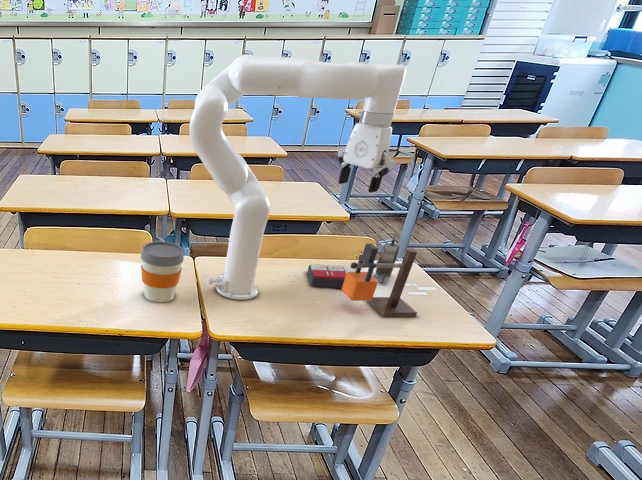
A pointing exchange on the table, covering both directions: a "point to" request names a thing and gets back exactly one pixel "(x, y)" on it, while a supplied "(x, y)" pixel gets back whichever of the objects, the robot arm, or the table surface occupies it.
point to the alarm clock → (387, 258)
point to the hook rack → (394, 288)
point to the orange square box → (362, 277)
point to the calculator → (328, 275)
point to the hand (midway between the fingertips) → (357, 187)
